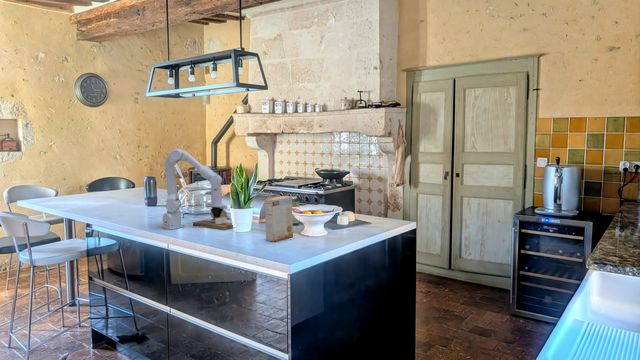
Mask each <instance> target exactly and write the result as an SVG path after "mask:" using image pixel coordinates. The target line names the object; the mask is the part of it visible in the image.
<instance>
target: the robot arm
mask: <svg viewBox="0 0 640 360" xmlns="http://www.w3.org/2000/svg"><path fill="white" fill-rule="evenodd" d="M180 161H181V162H187V163H188V164H190V165H192V167H194V168H195V169H197V170H198V171H199V175H201V176H202V178H204V179H205V180H206V181H207V182H209V184H210V185H211V186H210V187H211V188H210V194H211V195H210V197H211V198H210V199H211V203H210V202H209V203H206V204H205V205H206V208H210V212H211V211H212V213H213V216H214V220H215V218H218V217H220V215H221V212H222V211H223V209H224V210H228V205H227V204H224V203H223V199H222V198H223V197H222V195H223V191H222V190H223V189H222V182H223V178H222V177H221V175H219V174H217V172H215V171H213V170H212V169H211V167H210V166H207V165H202V164H201V163H200V162H199V161H198V160H197V159H196V158H195V157H193V156H192V155H191V154H190V153H189V152H187V151H185V150H184V149H183V148H174V149H172V150H171V151H169V152H168V154H167V156H166V159H165V160H164V172H165V173H164V175H165V182H166V190H167V197H166V205H165V208H166V212H165V213H164V214H163V215H162V227H161V229H166V230H176V229H180V228H185V225H182V217H181V216H182V214H181V213H182V211H181V207H182V201H181V200H180V196H179V194H178V189H177V180H176V171H175V169H176V168H175V166H176V165H177V164H178V163H179V162H180Z"/></svg>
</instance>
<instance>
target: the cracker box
mask: <svg viewBox="0 0 640 360" xmlns="http://www.w3.org/2000/svg"><path fill="white" fill-rule="evenodd" d="M273 197H274V198H273ZM273 197H269V198H264V211H265V212H264V215H265V221H264V222H265V241H268V242H273V243H275V241H276V242H278V241H279V242H280V241H282V240H286V239H290V237H291V238H293V237H294V228H293V227H294V226H293V215H292V197H293V196H291V195H282V196H281V195H279V196H273Z"/></svg>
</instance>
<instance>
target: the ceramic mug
mask: <svg viewBox="0 0 640 360" xmlns="http://www.w3.org/2000/svg"><path fill="white" fill-rule="evenodd" d="M210 217H211V218H212V219H214V216H213V213H212V211H211V210H210ZM220 217H226V219H230V217H231V216H230V215H228V213H227V210H226V209H223V211H222V212H221V215H220ZM214 220H215V219H214Z"/></svg>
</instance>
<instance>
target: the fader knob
mask: <svg viewBox="0 0 640 360" xmlns="http://www.w3.org/2000/svg"><path fill="white" fill-rule="evenodd" d="M226 220H227V218H226V217H218V218H215V219H214V221H215V223H216V224H223V223H226V222H227V221H226Z"/></svg>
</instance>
